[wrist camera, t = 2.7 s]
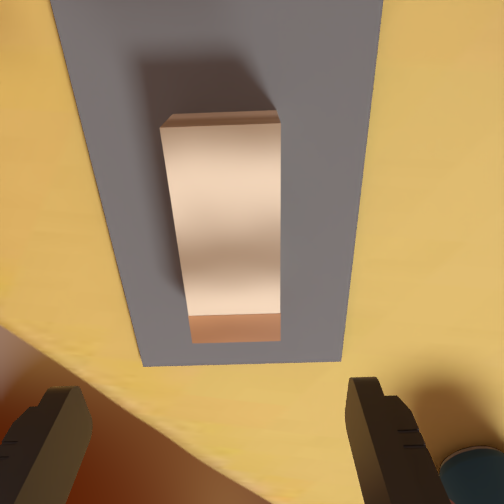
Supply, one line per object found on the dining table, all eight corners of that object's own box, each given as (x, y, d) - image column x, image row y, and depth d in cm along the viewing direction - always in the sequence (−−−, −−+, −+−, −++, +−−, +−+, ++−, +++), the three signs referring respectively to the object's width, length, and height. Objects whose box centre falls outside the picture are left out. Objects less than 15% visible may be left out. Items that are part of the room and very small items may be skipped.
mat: (53, -7, 16) (48, -8, 16) (382, -21, 16) (385, -23, 16) (145, 361, 27) (143, 366, 27) (339, 356, 27) (341, 361, 27)
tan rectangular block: (172, 113, 18) (158, 127, 16) (277, 110, 18) (281, 123, 16) (198, 309, 24) (192, 343, 22) (277, 307, 24) (280, 340, 22)
